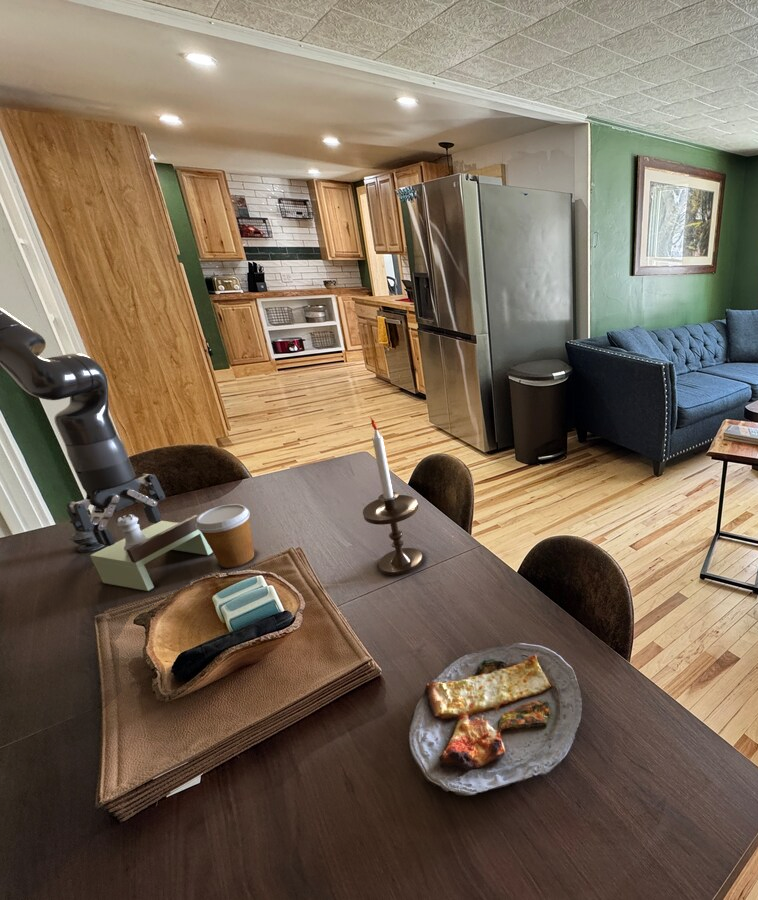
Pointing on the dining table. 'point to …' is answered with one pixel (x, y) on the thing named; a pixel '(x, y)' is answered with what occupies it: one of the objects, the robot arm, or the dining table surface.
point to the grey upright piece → (85, 539)
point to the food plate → (495, 718)
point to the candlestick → (392, 516)
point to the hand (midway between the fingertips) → (132, 533)
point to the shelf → (148, 552)
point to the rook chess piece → (131, 531)
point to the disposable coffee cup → (228, 533)
